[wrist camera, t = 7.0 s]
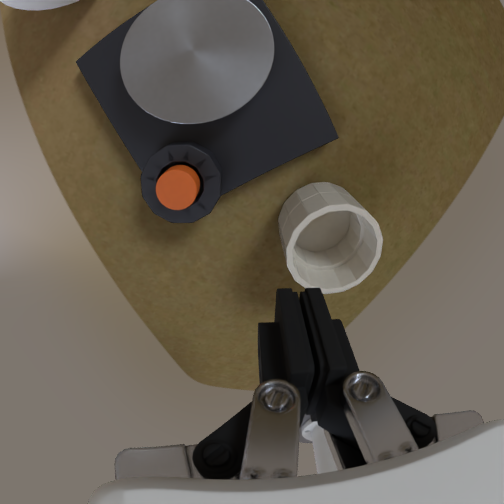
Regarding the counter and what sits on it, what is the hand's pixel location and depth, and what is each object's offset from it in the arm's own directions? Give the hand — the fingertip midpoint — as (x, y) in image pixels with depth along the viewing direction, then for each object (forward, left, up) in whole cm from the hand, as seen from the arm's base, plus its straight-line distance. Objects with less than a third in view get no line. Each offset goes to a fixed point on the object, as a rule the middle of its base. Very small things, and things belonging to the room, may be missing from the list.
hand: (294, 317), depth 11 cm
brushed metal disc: (+13, -1, -10) cm, 16 cm away
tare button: (+5, +4, -11) cm, 13 cm away
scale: (+11, 0, -13) cm, 17 cm away
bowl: (-3, -3, -13) cm, 14 cm away
